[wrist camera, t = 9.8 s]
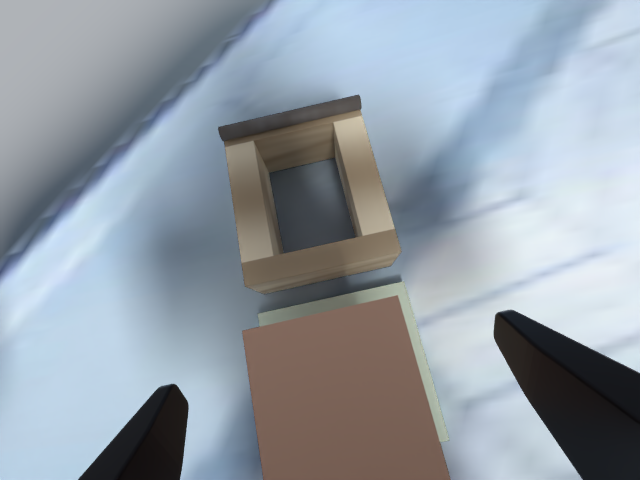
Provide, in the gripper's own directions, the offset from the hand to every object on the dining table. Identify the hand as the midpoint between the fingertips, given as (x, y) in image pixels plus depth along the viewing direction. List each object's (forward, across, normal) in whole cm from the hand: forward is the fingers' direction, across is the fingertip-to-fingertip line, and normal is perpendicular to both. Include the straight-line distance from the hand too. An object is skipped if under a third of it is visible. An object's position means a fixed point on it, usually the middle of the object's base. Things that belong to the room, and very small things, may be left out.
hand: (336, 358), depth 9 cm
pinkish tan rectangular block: (+4, 0, +6) cm, 8 cm away
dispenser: (+11, 0, 0) cm, 11 cm away
